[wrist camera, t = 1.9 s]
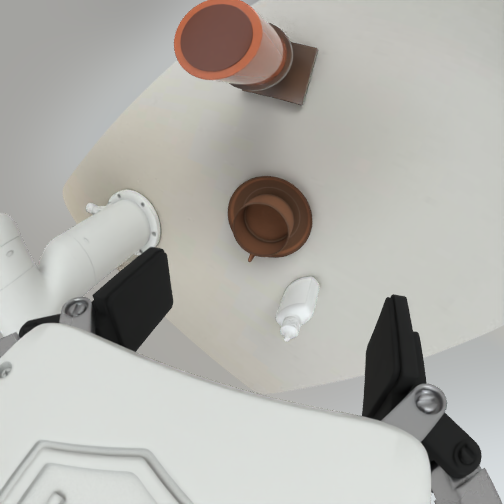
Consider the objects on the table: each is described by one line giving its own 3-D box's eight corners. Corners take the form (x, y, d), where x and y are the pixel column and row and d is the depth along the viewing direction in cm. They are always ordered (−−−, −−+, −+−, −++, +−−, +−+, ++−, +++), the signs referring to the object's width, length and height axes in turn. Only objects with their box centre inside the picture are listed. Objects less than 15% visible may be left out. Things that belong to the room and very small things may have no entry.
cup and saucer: (310, 256, 43) (304, 278, 38) (234, 246, 46) (218, 265, 41) (316, 177, 37) (310, 189, 32) (231, 170, 41) (212, 181, 35)
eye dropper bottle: (283, 275, 46) (263, 325, 36) (319, 275, 44) (307, 327, 34) (287, 297, 48) (267, 349, 38) (320, 298, 46) (309, 352, 36)
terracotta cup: (212, 80, 24) (165, 74, 17) (227, 20, 21) (184, -4, 14) (277, 93, 23) (248, 87, 16) (294, 30, 20) (272, 0, 13)
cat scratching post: (244, 90, 34) (203, 86, 24) (258, 37, 30) (222, 13, 20) (302, 105, 33) (284, 103, 23) (318, 50, 29) (305, 24, 19)
